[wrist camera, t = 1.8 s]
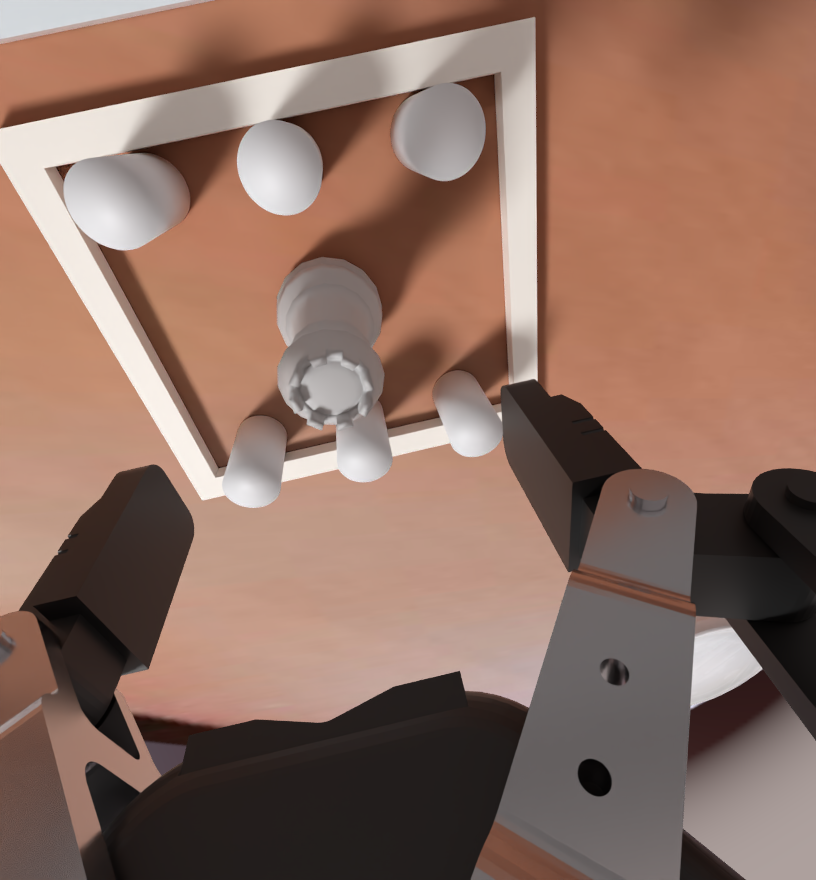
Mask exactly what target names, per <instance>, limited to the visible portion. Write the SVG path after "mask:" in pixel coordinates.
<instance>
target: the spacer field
mask: <svg viewBox="0 0 816 880" xmlns="http://www.w3.org/2000/svg"><path fill="white" fill-rule="evenodd" d="M492 74H494V80H495V101H496V122H497V143H498V164H499V185H500V206H501V227H502V248H503V269H504V290H505V311H506V332H507V353H508V374H509V384H513V383H518V382H522V381H527V380H531V379H535V380H536V381H537V382H538V376H537V206H536V37H535V17H532V18H528V19H523V20H518V21H513V22H508V23H504V24H499V25H494V26H489V27H484V28H480V29H475V30H470V31H465V32H461V33H456V34H451V35H446V36H441V37H437V38H432V39H427V40H422V41H418V42H413V43H408V44H403V45H398V46H394V47H389V48H384V49H379V50H374V51H370V52H365V53H360V54H355V55H351V56H346V57H341V58H336V59H331V60H327V61H322V62H317V63H312V64H308V65H303V66H298V67H293V68H288V69H284V70H279V71H274V72H269V73H264V74H260V75H255V76H250V77H245V78H241V79H236V80H231V81H226V82H221V83H217V84H212V85H207V86H202V87H197V88H193V89H188V90H183V91H178V92H174V93H169V94H164V95H159V96H154V97H150V98H145V99H140V100H135V101H131V102H126V103H121V104H116V105H111V106H107V107H102V108H97V109H92V110H87V111H83V112H78V113H73V114H68V115H64V116H59V117H54V118H49V119H44V120H40V121H35V122H30V123H25V124H21V125H16V126H11V127H6V128H1V129H0V164H1V166H2V167H3V169H4V171H5V172H6V174H7V176H8V177H9V179H10V181H11V182H12V184H13V186H14V187H15V189H16V191H17V192H18V194H19V196H20V197H21V199H22V201H23V202H24V204H25V206H26V207H27V209H28V211H29V212H30V214H31V216H32V217H33V219H34V221H35V222H36V224H37V226H38V227H39V229H40V231H41V232H42V234H43V236H44V237H45V239H46V241H47V242H48V244H49V246H50V247H51V249H52V251H53V252H54V254H55V256H56V257H57V259H58V261H59V262H60V264H61V266H62V267H63V269H64V271H65V272H66V274H67V276H68V277H69V279H70V281H71V282H72V284H73V286H74V287H75V289H76V291H77V292H78V294H79V296H80V297H81V299H82V301H83V302H84V304H85V306H86V307H87V309H88V311H89V312H90V314H91V316H92V317H93V319H94V321H95V322H96V324H97V326H98V327H99V329H100V331H101V332H102V334H103V336H104V337H105V339H106V341H107V342H108V344H109V346H110V347H111V349H112V351H113V352H114V354H115V356H116V357H117V359H118V361H119V362H120V364H121V366H122V367H123V369H124V371H125V372H126V374H127V376H128V377H129V379H130V381H131V382H132V384H133V386H134V387H135V389H136V391H137V392H138V394H139V396H140V398H141V399H142V401H143V403H144V404H145V406H146V408H147V409H148V411H149V413H150V414H151V416H152V418H153V419H154V421H155V423H156V424H157V426H158V428H159V429H160V431H161V433H162V434H163V436H164V438H165V439H166V441H167V443H168V444H169V446H170V448H171V449H172V451H173V453H174V454H175V456H176V458H177V459H178V461H179V463H180V464H181V466H182V468H183V469H184V471H185V473H186V474H187V476H188V478H189V479H190V481H191V483H192V484H193V486H194V488H195V489H196V491H197V493H198V494H199V496H200V498H201V499H202V500H207V499H211V498H215V497H220V496H224V495H226V496H227V497H228V498H229V499H230V500H231V501H232V502H234V503H236V504H238V505H240V506H243V507H250V508H257V507H263V506H266V505H268V504H270V503H272V502H273V501H274V500H275V499H276V498H277V497H278V495H279V493H280V489H281V482H284V481H289V480H293V479H297V478H302V477H306V476H310V475H315V474H319V473H323V472H328V471H332V470H336V469H339V470H340V472H341V473H342V474H343V475H344V476H345V477H347V478H348V479H350V480H353V481H356V482H370V481H374V480H377V479H379V478H381V477H382V476H383V475H385V474H386V473H387V472H388V470H389V469H390V467H391V465H392V456H397V455H401V454H405V453H410V452H414V451H418V450H423V449H427V448H431V447H436V446H440V445H444V444H449V443H451V445H452V447H453V449H454V450H455V451H456V452H457V453H459V454H460V455H463V456H466V457H477V456H482V455H484V454H487V453H489V452H490V451H492V450H493V449H494V448H495V447H496V446H497V445H498V444H499V442H500V441H501V439H502V436H503V426H502V410H501V403H500V404H496V405H491V403H490V401H489V400H488V398H487V397H486V395H485V393H484V392H483V390H482V388H481V387H480V385H479V383H478V382H477V380H476V379H475V377H474V376H473V375H472V374H470V373H468V372H466V371H462V370H455V371H451V372H448V373H446V374H444V375H443V376H441V377H440V378H439V379H438V380H437V382H436V383H435V385H434V387H433V391H432V397H433V401H434V403H435V405H436V408H437V410H438V413H439V415H440V417H439V418H435V419H431V420H426V421H422V422H418V423H413V424H409V425H404V426H400V427H396V428H391V429H387V427H386V422H385V418H384V413H383V408H382V405H381V403H380V402H379V401H378V400H377V402H376V404H375V405H374V407H373V408H372V409H371V410H370V411H369V413H368V415H367V416H366V417H364V416H362V417H360V418H359V419H358V420H354V421H353V427H351V428H347V429H344V430H341V431H338V427H337V425H336V441H335V442H330V443H326V444H322V445H317V446H313V447H309V448H304V449H300V450H296V451H291V452H287V453H285V451H286V443H287V432H286V430H285V428H284V426H283V425H282V424H281V423H280V422H279V421H277V420H276V419H274V418H271V417H268V416H262V415H259V416H253V417H250V418H247V419H246V420H244V421H243V422H242V423H241V424H240V426H239V428H238V431H237V434H236V438H235V441H234V444H233V448H232V451H231V454H230V458H229V461H228V464H227V466H226V467H222V468H218V466H217V465H216V463H215V461H214V459H213V457H212V455H211V453H210V452H209V450H208V448H207V446H206V444H205V442H204V441H203V439H202V437H201V435H200V433H199V431H198V429H197V428H196V426H195V424H194V422H193V420H192V418H191V416H190V415H189V413H188V411H187V409H186V407H185V405H184V403H183V402H182V400H181V398H180V396H179V394H178V392H177V390H176V389H175V387H174V385H173V383H172V381H171V379H170V378H169V376H168V374H167V372H166V370H165V368H164V366H163V365H162V363H161V361H160V359H159V357H158V355H157V353H156V352H155V350H154V348H153V346H152V344H151V342H150V340H149V339H148V337H147V335H146V333H145V331H144V329H143V327H142V326H141V324H140V322H139V320H138V318H137V316H136V315H135V313H134V311H133V309H132V307H131V305H130V303H129V302H128V300H127V298H126V296H125V294H124V292H123V290H122V289H121V287H120V285H119V283H118V281H117V279H116V277H115V276H114V274H113V272H112V270H111V268H110V266H109V264H108V263H107V261H106V259H105V257H104V255H103V253H102V252H101V250H100V248H99V246H98V244H97V242H98V243H100V244H102V245H104V246H106V247H109V248H113V249H117V250H132V249H136V248H139V247H141V246H143V245H145V244H146V243H148V242H150V241H151V240H153V239H155V238H156V237H158V236H159V235H161V234H163V233H164V232H166V231H168V230H169V229H171V228H173V227H174V226H176V225H178V224H179V223H181V222H182V221H183V220H184V219H185V217H186V216H187V214H188V211H189V208H190V193H189V189H188V186H187V183H186V181H185V179H184V178H183V176H182V175H181V173H180V172H179V171H178V169H177V168H176V167H175V166H174V165H172V164H171V163H170V162H169V161H167V160H166V159H164V158H162V157H160V156H158V155H155V154H151V153H134V154H124V155H115V154H119V153H124V152H129V151H133V150H138V149H143V148H148V147H152V146H157V145H162V144H166V143H171V142H176V141H181V140H185V139H190V138H195V137H200V136H204V135H209V134H214V133H218V132H223V131H228V130H233V129H237V128H242V127H247V126H251V125H254V126H253V127H252V128H250V129H249V130H248V131H247V133H246V134H245V135H244V137H243V139H242V141H241V143H240V146H239V149H238V155H237V167H238V173H239V176H240V179H241V182H242V184H243V186H244V188H245V190H246V192H247V193H248V195H249V196H250V197H251V198H252V199H253V201H255V202H256V203H257V204H258V205H259V206H260V207H262V208H263V209H265V210H267V211H269V212H271V213H274V214H278V215H294V214H297V213H300V212H302V211H304V210H305V209H307V208H308V207H309V206H310V205H311V204H312V203H313V202H314V200H315V199H316V197H317V195H318V193H319V190H320V187H321V182H322V173H323V160H322V155H321V152H320V149H319V147H318V145H317V143H316V142H315V140H314V139H313V137H312V136H311V135H310V134H309V133H308V132H307V131H305V130H304V129H303V128H301V127H299V126H297V125H294V124H291V123H288V122H285V121H280V119H285V118H289V117H294V116H299V115H303V114H308V113H313V112H318V111H322V110H327V109H332V108H337V107H341V106H346V105H351V104H355V103H360V102H365V101H370V100H374V99H379V98H384V97H388V96H393V95H398V94H403V93H407V92H412V91H417V90H422V89H426V88H428V89H426V90H424V91H422V92H419V93H417V94H415V95H413V96H411V97H409V98H407V99H406V100H405V101H403V102H402V103H401V105H400V106H399V107H398V109H397V110H396V112H395V114H394V116H393V119H392V123H391V129H390V138H391V144H392V148H393V151H394V153H395V155H396V157H397V158H398V160H399V161H400V162H401V163H402V164H403V165H404V166H405V167H407V168H408V169H410V170H412V171H415V172H417V173H419V174H422V175H424V176H427V177H429V178H431V179H434V180H438V181H450V180H454V179H457V178H459V177H461V176H463V175H464V174H466V173H467V172H468V171H469V170H470V169H471V168H472V167H473V166H474V164H475V163H476V162H477V160H478V158H479V156H480V154H481V152H482V149H483V146H484V142H485V134H486V125H485V118H484V113H483V111H482V108H481V106H480V104H479V102H478V100H477V99H476V97H475V96H474V95H473V94H472V93H471V92H470V91H469V90H468V89H466V88H465V87H463V86H461V85H458V84H454V83H455V82H459V81H464V80H469V79H473V78H478V77H483V76H488V75H492ZM110 155H114V156H110ZM72 163H76V164H74V165H73V166H72V167H71V168H70V170H69V171H68V173H67V175H66V177H65V180H64V181H63V179H62V177H61V176H60V174H59V172H58V170H57V168H56V167H58V166H63V165H67V164H72Z"/></svg>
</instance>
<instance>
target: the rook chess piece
mask: <svg viewBox="0 0 816 880" xmlns="http://www.w3.org/2000/svg"><path fill="white" fill-rule="evenodd" d="M382 314H383V313H382V305H381V301H380V298H379V294H378V291H377V287H376V286H375V285H374V283H373V282H372V281H371V280H370V278H369V277H368V276H367V275H366V273H365V272H364V271H363V270H362V269H360V268H358V267H356V266H355V265H353V264H351V263H349V262H347V261H346V260H344V259H335V258H327V257H320V258H317V259H313V260H310V261H307V262H304V263H301V264H300V265H299V266H297V267H296V268H295V269H294V270H293V271H292V272H291V273H290V274H288V275H287V276H286V277H285V279H284V281H283V284H282V286H281V288H280V291H279V293H278V295H277V325H278V327H279V330H280V332H281V334H282V336H283V339H284V341H285V343H286V345H287V346H288V348H287V349H286V350H285V352H284V354H283V357H282V359H281V361H280V363H279V365H278V388H279V390H280V392H281V394H282V396H283V398H284V400H285V402H286V404H287V405H288V406H289V407H290V408H292V409H293V411H294V413H295V414H296V413H297V414H298V415H299V416H300V417H303V418H305V419H307V425H309V426H312V427H314V428H317V429H319V430H322V428H323V425H324V424H329V425H337V427H338V431H341V430H344V429H347V428H351V427H353V421H354V420H358V419H359V418H360V417H362V416H364V417H366V416H367V415H368V413H369V411H370V410H371V409H372V408H373V407H374V405H375V404H376V402H377V400H378V399H379V397H380V396H381V394H382V391H383V383H384V375H385V374H384V371H383V367H382V364H381V361H380V358H379V356H378V354H377V353H376V352H375V351H374V350H373V349H372V347H373V345H374V343H375V342H376V340H377V338H378V336H379V335H380V332H381V323H382Z"/></svg>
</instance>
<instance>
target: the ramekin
mask: <svg viewBox="0 0 816 880" xmlns="http://www.w3.org/2000/svg"><path fill="white" fill-rule="evenodd" d="M760 670H762V667H761V666H760V664H759V663H758V662H757V660H756V659H755V658H754V656H753V655H752V654H751V652H750V651H749V650H748V648H747V647H746V646H745V644H744V643H743V642H742V640H741V639H740V638H739V636H738V635H737V633H736V632H735V631H734V629H733V628H732V627H731V625H730V624H729V623H728V621H727V620H726V619H725V618H717V617H703V616H696V623H695V639H694V655H693V671H692V687H691V703H690V706H691V705H695V704H698V703H701V702H704V701H707V700H710V699H713V698H715V697H717V696H719V695H721V694H724V693H726V692H728V691H730V690H732V689H733V688H735V687H737V686H739V685H740V684H742V683H744V682H745V681H746V680H748V679H749V678H751V677H752V676H754V675H755V674H757V673H758V672H759V671H760Z"/></svg>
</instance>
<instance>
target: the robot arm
mask: <svg viewBox="0 0 816 880" xmlns="http://www.w3.org/2000/svg"><path fill="white" fill-rule="evenodd" d="M501 410H502V426H503V441H504V448H505V452H506V456H507V459H508V462H509V464H510V466H511V468H512V470H513V472H514V474H515V476H516V477H517V479H518V481H519V483H520V485H521V487H522V488H523V490H524V492H525V494H526V496H527V498H528V499H529V501H530V503H531V505H532V507H533V509H534V510H535V512H536V514H537V516H538V518H539V520H540V521H541V523H542V525H543V527H544V529H545V531H546V532H547V534H548V536H549V538H550V540H551V541H552V543H553V545H554V547H555V549H556V551H557V552H558V554H559V556H560V558H561V560H562V562H563V563H564V565H565V567H566V569H567V571H568V572H571V571H572V573H571V575H570V578H569V581H568V584H567V587H566V590H565V593H564V597H563V600H562V603H561V606H560V610H559V613H558V616H557V619H556V623H555V626H554V629H553V632H552V636H551V639H550V642H549V645H548V649H547V652H546V655H545V658H544V662H543V665H542V668H541V671H540V675H539V678H538V681H537V684H536V688H535V691H534V694H533V697H532V701H531V704H530V707H529V708H528V707H526V706H524V705H522V704H520V703H518V702H515V701H513V700H510V699H507V698H504V697H501V696H498V695H494V694H489V693H483V692H474V691H465V690H464V686H463V682H462V678H461V674H460V671H458V672H454V673H449V674H445V675H441V676H437V677H433V678H428V679H424V680H420V681H416V682H412V683H407V684H403V685H399V686H395V687H392V688H391V689H389V690H387V691H385V692H383V693H381V694H379V695H377V696H375V697H374V698H372V699H370V700H368V701H366V702H364V703H362V704H360V705H359V706H357V707H355V708H353V709H351V710H349V711H347V712H345V713H343V714H342V715H340V716H338V717H336V718H334V719H332V720H330V721H327V722H323V723H311V722H292V721H274V720H252V721H248V722H244V723H240V724H235V725H231V726H227V727H223V728H219V729H214V730H210V731H206V732H202V733H198V734H193V735H189V738H188V742H187V747H186V751H185V755H184V759H183V762H182V763H181V764H179V765H177V766H176V767H174V768H173V769H171V770H170V771H168V772H166V773H165V774H163V775H162V776H161V775H160V773H159V772H158V770H157V769H156V767H155V765H154V763H153V761H152V758H151V756H150V754H149V752H148V749H147V747H146V745H145V743H144V740H143V738H142V736H141V733H140V731H139V729H138V727H137V724H136V722H135V720H134V718H133V715H132V713H131V711H130V709H129V706H128V704H127V702H126V699H125V697H124V696H123V694H122V693H121V692H120V691H119V690H117V689H116V687H117V684H118V682H119V679H120V677H121V676H122V675H126V674H130V673H135V672H139V671H143V670H147V669H149V666H150V663H151V660H152V657H153V654H154V651H155V649H156V646H157V643H158V640H159V637H160V634H161V631H162V628H163V625H164V622H165V619H166V616H167V613H168V611H169V608H170V605H171V602H172V599H173V596H174V593H175V590H176V587H177V584H178V581H179V578H180V575H181V573H182V570H183V567H184V564H185V561H186V558H187V555H188V552H189V549H190V546H191V543H192V540H193V537H194V523H193V519H192V516H191V514H190V512H189V510H188V509H187V507H186V505H185V504H184V502H183V501H182V499H181V497H180V496H179V494H178V493H177V491H176V490H175V488H174V486H173V485H172V483H171V482H170V480H169V478H168V477H167V475H166V474H165V472H164V471H163V470H162V469H161V468H160V467H159V466H157V465H149V466H144V467H140V468H135V469H131V470H127V471H122V472H119V473H118V474H116V476H115V477H114V479H113V480H112V482H111V483H110V485H109V487H108V488H107V490H106V491H105V493H104V494H103V496H102V498H101V499H99V500H98V501H97V502H96V503H95V504H94V505H93V506H92V507H91V508H90V509H89V510H87V511H86V512H85V513H84V514H83V515H82V516H81V517H80V518H79V520H78V521H77V523H76V524H75V526H74V527H73V529H72V530H71V532H70V533H69V535H68V537H69V539H66V540H65V541H64V543H63V544H62V546H61V547H60V549H59V550H58V555H56V556H54V558H53V559H52V561H51V562H50V564H49V565H48V567H47V568H46V570H45V571H44V573H43V574H42V576H41V578H40V579H39V581H38V582H37V584H36V585H35V587H34V588H33V590H32V591H31V593H30V594H29V596H28V597H27V599H26V600H25V602H24V603H23V605H22V606H21V608H20V609H19V611H17V612H12V613H8V614H6V615H3V616H0V880H745V879H744V878H743V877H742V876H740V875H739V874H738V873H737V872H736V871H734V870H733V869H732V868H731V867H729V866H728V865H727V864H726V863H725V862H723V861H722V860H721V859H720V858H718V857H717V856H716V855H715V854H714V853H712V852H711V851H710V850H709V849H707V848H706V847H705V846H704V845H702V844H701V843H700V842H699V841H697V840H696V839H695V838H694V837H692V836H691V835H690V834H689V833H688V832H686V831H685V830H684V829H683V816H684V800H685V784H686V768H687V751H688V735H689V720H690V719H689V718H690V703H691V687H692V671H693V655H694V639H695V623H696V616H703V617H717V618H725V619H726V620H727V621H728V623H729V624H730V625H731V627H732V628H733V629H734V631H735V632H736V633H737V635H738V636H739V638H740V639H741V640H742V642H743V643H744V644H745V646H746V647H747V648H748V650H749V651H750V652H751V654H752V655H753V656H754V658H755V659H756V660H757V662H758V663H759V664H760V666H761V667H762V669H763V670H764V671H765V673H766V674H767V675H768V677H769V678H770V679H771V681H772V682H773V683H774V685H775V686H776V687H777V689H778V690H779V691H780V693H781V694H782V695H783V697H784V698H785V700H786V701H787V702H788V704H789V705H790V706H791V708H792V709H793V710H794V712H795V713H796V714H797V716H798V717H799V718H800V720H801V721H802V722H803V724H804V725H805V727H806V728H807V729H808V731H809V732H810V733H811V735H812V736H813V737H814V739H815V740H816V472H813V471H809V470H802V469H791V468H787V469H774V470H770V471H767V472H764V473H762V474H760V475H759V476H758V477H756V479H755V480H754V481H753V484H752V487H751V490H750V493H749V494H703V493H693V492H692V490H691V489H690V488H689V487H688V486H687V485H686V484H685V483H683V482H682V481H681V480H679V479H677V478H675V477H673V476H671V475H669V474H666V473H663V472H660V471H655V470H649V469H642V468H641V467H640V466H639V465H638V464H637V463H636V462H635V461H634V460H633V459H632V458H631V457H630V455H629V454H628V453H627V452H626V451H625V450H624V449H623V448H622V447H621V446H620V445H619V444H618V443H617V442H616V441H615V440H614V438H613V437H612V436H611V435H610V434H609V433H608V432H607V431H606V430H605V431H604V430H603V427H602V426H601V425H600V424H599V422H598V421H597V420H596V419H593V416H592V415H591V414H590V413H589V412H588V411H587V410H586V409H585V408H584V406H583V405H582V404H581V403H578V402H576V401H574V400H572V399H570V398H568V397H566V396H564V395H557V396H553V397H550V396H549V395H548V393H547V392H546V391H545V390H544V389H543V388H542V386H541V385H540V384H539V383H538V382H537V381H536V380H535V379H531V380H527V381H522V382H518V383H513V384H509V385H505V386H502V387H501Z"/></svg>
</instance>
